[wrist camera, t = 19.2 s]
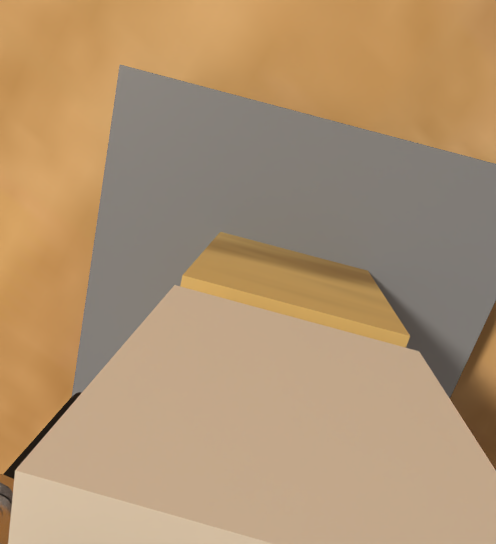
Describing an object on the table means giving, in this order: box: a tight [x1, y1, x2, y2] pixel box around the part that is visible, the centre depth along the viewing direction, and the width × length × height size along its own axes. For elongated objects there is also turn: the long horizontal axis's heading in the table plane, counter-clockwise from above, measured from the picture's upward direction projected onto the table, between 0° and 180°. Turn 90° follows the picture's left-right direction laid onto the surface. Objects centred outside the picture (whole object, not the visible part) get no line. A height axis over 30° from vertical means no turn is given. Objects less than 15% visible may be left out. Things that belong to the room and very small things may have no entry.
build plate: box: [72, 65, 496, 399], centre depth 18 cm, size 16×16×1 cm
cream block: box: [8, 285, 496, 544], centre depth 8 cm, size 6×6×6 cm
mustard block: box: [180, 232, 410, 348], centre depth 14 cm, size 6×6×6 cm
